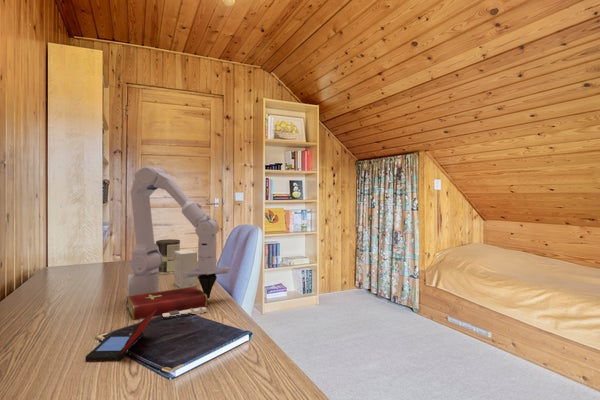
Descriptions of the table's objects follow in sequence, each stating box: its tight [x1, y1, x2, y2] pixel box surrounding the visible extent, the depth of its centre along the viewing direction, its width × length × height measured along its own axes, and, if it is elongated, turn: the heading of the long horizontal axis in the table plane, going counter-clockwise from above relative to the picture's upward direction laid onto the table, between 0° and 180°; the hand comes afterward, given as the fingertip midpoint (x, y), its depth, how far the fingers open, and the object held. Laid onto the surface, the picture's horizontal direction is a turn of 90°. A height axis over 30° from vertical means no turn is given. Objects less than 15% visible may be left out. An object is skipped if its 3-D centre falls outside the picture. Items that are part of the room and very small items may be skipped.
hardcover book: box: [126, 286, 208, 321], centre depth 101 cm, size 12×21×4 cm, turn 125°
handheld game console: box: [85, 308, 157, 362], centre depth 74 cm, size 12×11×7 cm
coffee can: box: [155, 238, 181, 275], centre depth 149 cm, size 10×10×14 cm
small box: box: [173, 249, 198, 289], centre depth 127 cm, size 8×6×13 cm
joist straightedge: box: [161, 307, 208, 317], centre depth 95 cm, size 12×2×1 cm, turn 121°
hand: (206, 297), depth 107 cm, fingers closed
